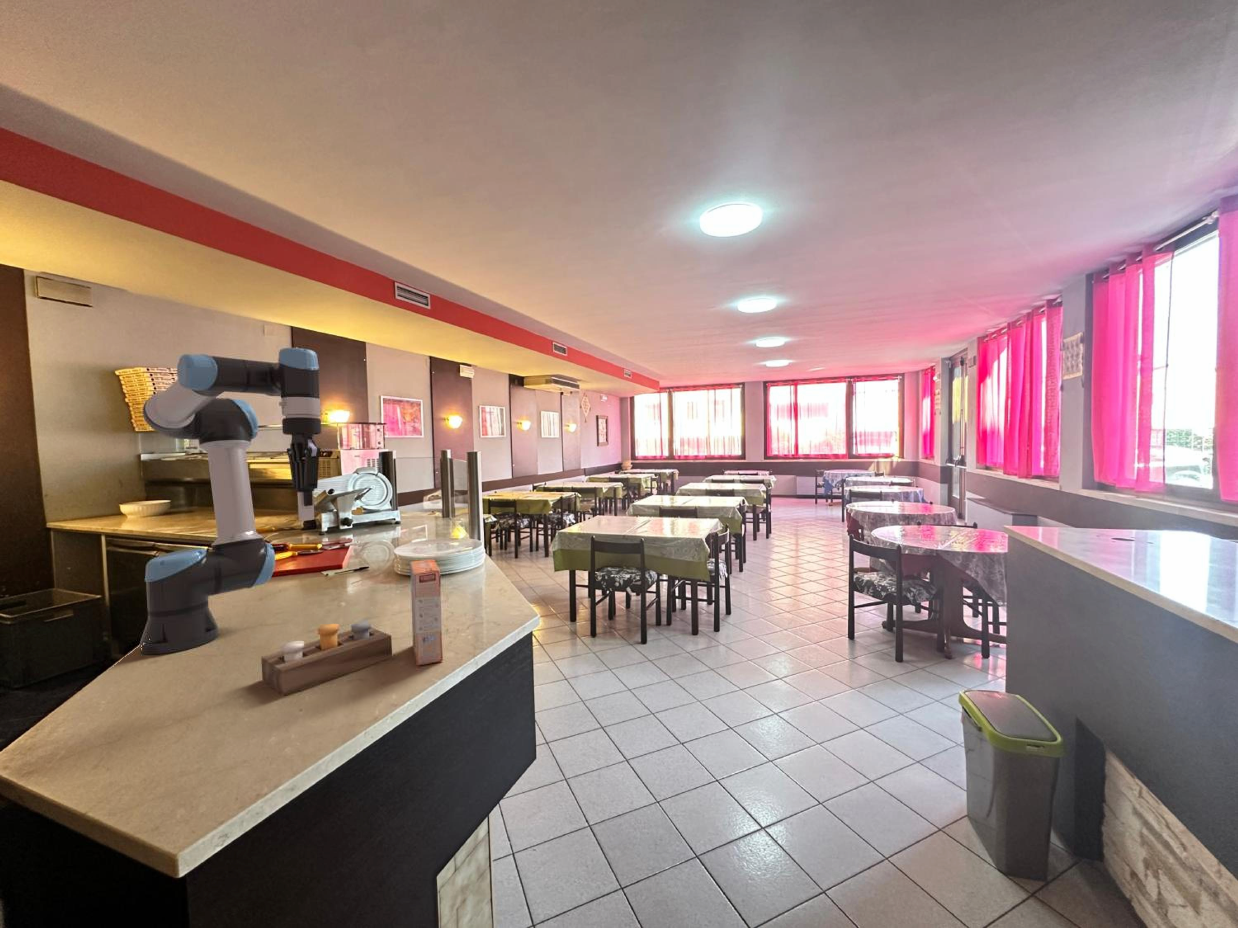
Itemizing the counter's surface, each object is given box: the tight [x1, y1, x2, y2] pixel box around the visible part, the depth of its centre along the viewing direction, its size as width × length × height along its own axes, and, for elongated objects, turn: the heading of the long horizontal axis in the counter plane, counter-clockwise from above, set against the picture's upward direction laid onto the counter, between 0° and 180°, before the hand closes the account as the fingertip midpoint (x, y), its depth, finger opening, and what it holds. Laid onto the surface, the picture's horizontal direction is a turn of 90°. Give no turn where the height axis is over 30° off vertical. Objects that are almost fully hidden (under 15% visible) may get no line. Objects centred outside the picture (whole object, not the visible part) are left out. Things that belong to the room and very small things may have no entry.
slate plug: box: [350, 621, 372, 641], centre depth 116 cm, size 4×4×7 cm
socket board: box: [260, 626, 393, 697], centre depth 110 cm, size 12×22×5 cm, turn 142°
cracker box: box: [409, 558, 444, 667], centre depth 117 cm, size 14×6×21 cm, turn 26°
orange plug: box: [317, 623, 340, 651], centre depth 110 cm, size 4×4×7 cm
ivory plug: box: [281, 640, 305, 663], centre depth 105 cm, size 4×4×7 cm
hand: (306, 519), depth 115 cm, fingers closed
